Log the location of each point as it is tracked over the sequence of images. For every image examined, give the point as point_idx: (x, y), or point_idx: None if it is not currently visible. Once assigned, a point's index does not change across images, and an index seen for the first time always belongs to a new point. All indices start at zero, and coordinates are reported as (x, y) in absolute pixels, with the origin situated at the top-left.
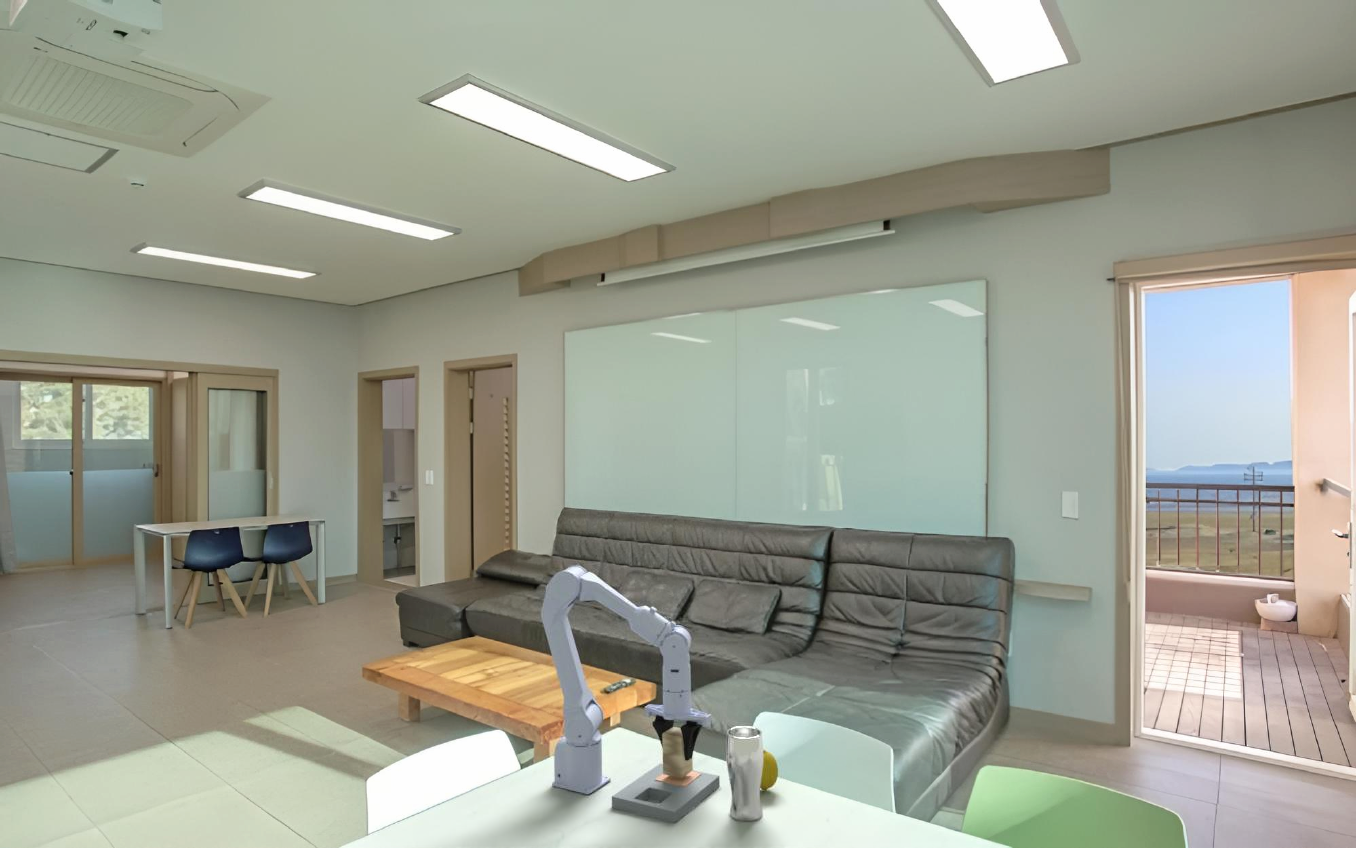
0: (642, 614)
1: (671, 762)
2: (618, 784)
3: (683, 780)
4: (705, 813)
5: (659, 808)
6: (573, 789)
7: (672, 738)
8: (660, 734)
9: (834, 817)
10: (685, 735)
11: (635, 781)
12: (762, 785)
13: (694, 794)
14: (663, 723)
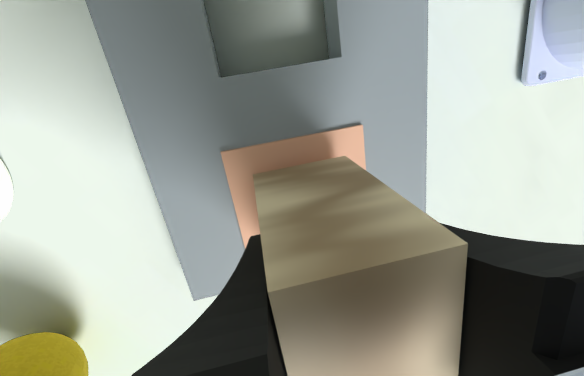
0: None
1: (317, 183)
2: (483, 80)
3: None
4: (63, 88)
5: None
6: None
7: (353, 253)
8: (482, 246)
9: None
10: (229, 327)
11: (421, 67)
12: (8, 341)
13: (136, 121)
14: (548, 335)
